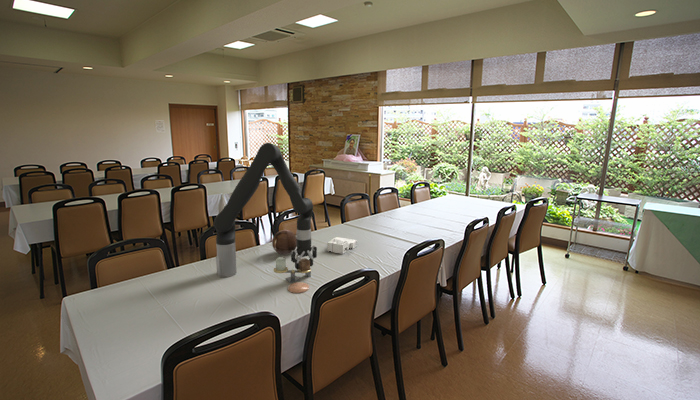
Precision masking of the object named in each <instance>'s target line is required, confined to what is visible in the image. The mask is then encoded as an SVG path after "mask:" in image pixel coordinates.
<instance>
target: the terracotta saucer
mask: <svg viewBox="0 0 700 400" xmlns="http://www.w3.org/2000/svg"><path fill="white" fill-rule="evenodd" d="M309 289H310V285H309V284H308V283H306V282H301V281H296V282H292V283H289V285H288V286H287V290H288V291H289V292H290V293H293V294H303V293H306V292H307V291H309Z"/></svg>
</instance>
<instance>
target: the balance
mask: <svg viewBox="0 0 700 400" xmlns="http://www.w3.org/2000/svg"><path fill="white" fill-rule="evenodd" d="M311 271H312V269H311V267H310V270H308V271H304V272H302V271H300V270H297V269H290V270H289V268H288V266H287V267H286V270H284V271H277V270H276V267H274V268H273V272H274V273H276V274H284V273H285V274H286V273H287V274H289V273H290V276H287V277H285V278H284V279H285V281H286V282H287V283H289V284H292V283H297V282H301V278H300V277H299V276H297V275H296V274H297V273H298V274H304V275H305V277H307V278H311V276H312V272H311Z"/></svg>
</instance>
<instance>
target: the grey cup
mask: <svg viewBox="0 0 700 400" xmlns="http://www.w3.org/2000/svg"><path fill="white" fill-rule="evenodd" d="M286 265H287V263H286V258H285V257H282V256H279V257H277V258H276V259H275V268H276V270H277V271H284V270H286Z"/></svg>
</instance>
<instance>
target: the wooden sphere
mask: <svg viewBox="0 0 700 400" xmlns="http://www.w3.org/2000/svg"><path fill="white" fill-rule="evenodd" d="M271 242H272V243H271V244H272V248H273V250H274V251H275V252H276V253H277V254H280V255H283V256H285V255H289V254H290V255H291V250H293V251H294V250H296V249H297V239H296V234H295V233H294V232H292V231H290V230H287V229H283V230H279V231H277V232H276V233H275V234H274V235H273V237H272V241H271Z"/></svg>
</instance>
